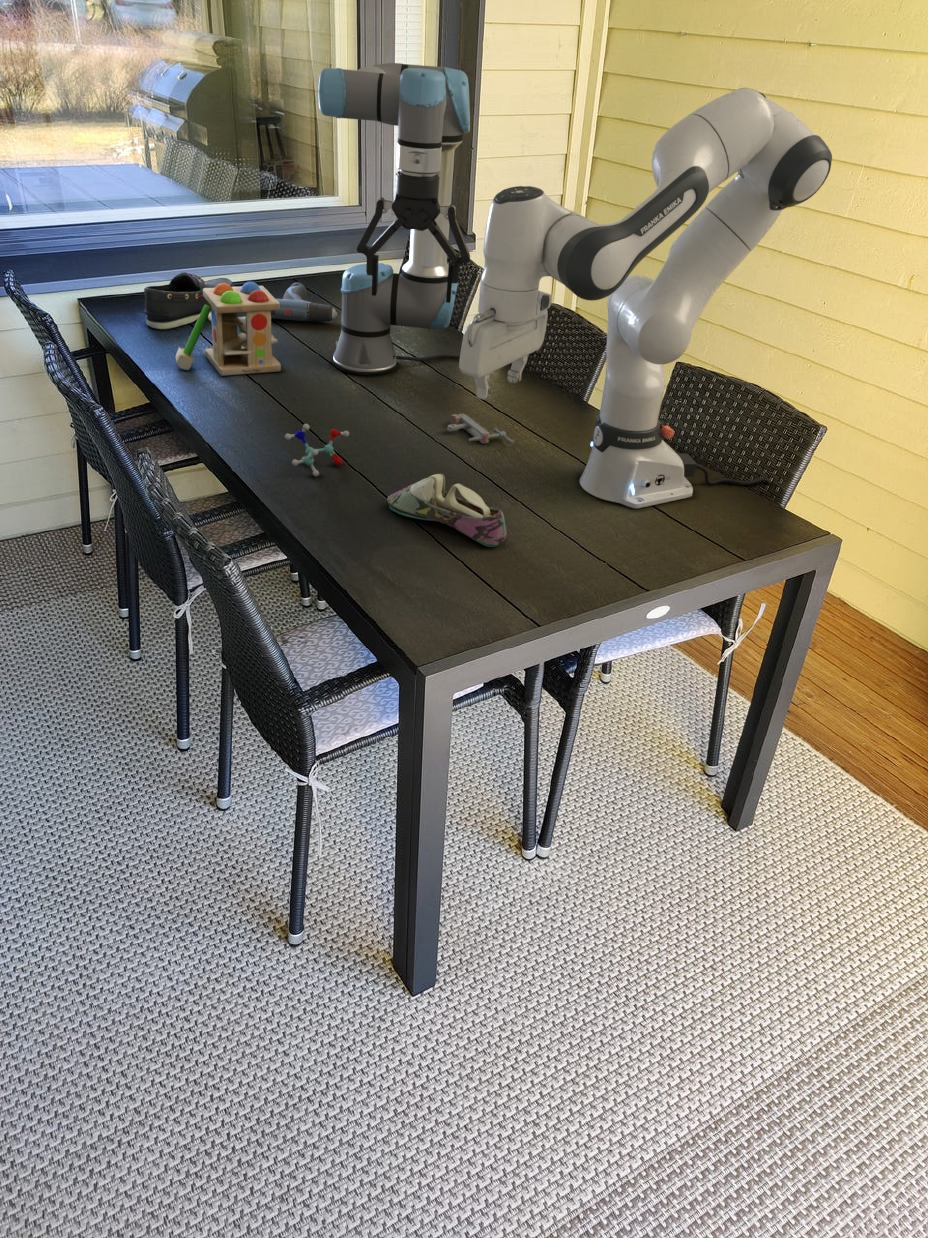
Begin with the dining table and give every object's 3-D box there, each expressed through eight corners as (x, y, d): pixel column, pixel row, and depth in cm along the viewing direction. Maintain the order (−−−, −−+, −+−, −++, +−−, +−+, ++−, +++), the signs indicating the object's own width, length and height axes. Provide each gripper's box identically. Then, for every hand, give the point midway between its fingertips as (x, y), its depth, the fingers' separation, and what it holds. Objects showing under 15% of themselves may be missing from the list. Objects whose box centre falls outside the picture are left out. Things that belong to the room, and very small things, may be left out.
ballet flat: (405, 495, 184) (408, 452, 179) (516, 538, 173) (521, 494, 169) (378, 510, 178) (380, 467, 173) (490, 556, 167) (495, 512, 163)
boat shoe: (255, 307, 269) (253, 268, 263) (164, 331, 245) (159, 289, 239) (221, 298, 274) (218, 260, 269) (128, 321, 250) (123, 279, 245)
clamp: (439, 415, 210) (479, 410, 214) (438, 425, 211) (478, 419, 216) (475, 444, 199) (516, 437, 204) (474, 454, 201) (515, 447, 205)
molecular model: (334, 468, 182) (316, 416, 180) (292, 484, 185) (274, 433, 184) (360, 462, 192) (343, 413, 191) (320, 477, 196) (303, 429, 194)
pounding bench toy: (183, 379, 220) (176, 299, 210) (169, 357, 231) (162, 280, 221) (282, 371, 230) (280, 294, 220) (264, 350, 240) (262, 276, 230)
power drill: (344, 304, 276) (335, 327, 259) (277, 298, 275) (264, 321, 258) (344, 285, 273) (335, 306, 256) (277, 279, 272) (264, 300, 255)
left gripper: (342, 168, 165) (340, 296, 177) (490, 183, 165) (478, 309, 177) (348, 161, 171) (346, 284, 183) (490, 175, 171) (479, 297, 183)
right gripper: (489, 322, 140) (480, 413, 148) (557, 294, 155) (546, 378, 163) (452, 311, 143) (446, 401, 151) (523, 285, 158) (513, 368, 165)
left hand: (411, 297), depth 180 cm, fingers open, 13 cm apart
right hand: (498, 389), depth 157 cm, fingers open, 8 cm apart
